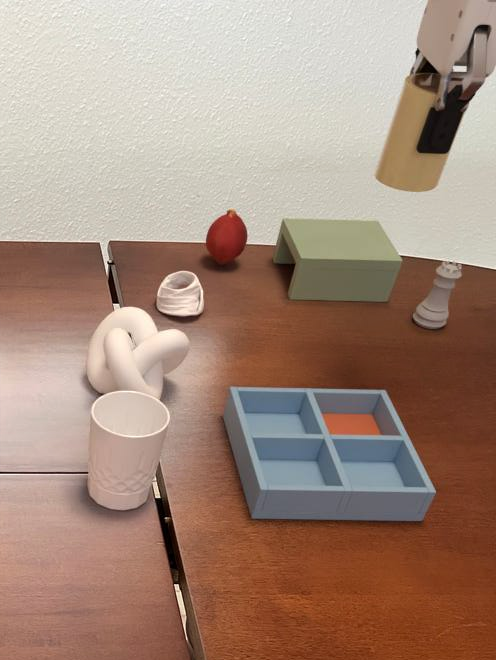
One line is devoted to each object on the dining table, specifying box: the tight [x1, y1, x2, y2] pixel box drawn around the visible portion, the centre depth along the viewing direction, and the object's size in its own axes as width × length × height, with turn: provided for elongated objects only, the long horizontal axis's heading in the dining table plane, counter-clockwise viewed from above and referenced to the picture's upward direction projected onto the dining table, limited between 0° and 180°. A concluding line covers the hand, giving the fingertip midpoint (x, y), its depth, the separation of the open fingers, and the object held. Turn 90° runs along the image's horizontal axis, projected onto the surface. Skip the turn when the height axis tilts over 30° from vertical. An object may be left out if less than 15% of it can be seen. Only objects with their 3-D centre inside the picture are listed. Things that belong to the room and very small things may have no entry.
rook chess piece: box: [412, 260, 463, 330], centre depth 119 cm, size 4×4×8 cm
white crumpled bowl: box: [156, 270, 205, 317], centre depth 120 cm, size 8×7×5 cm
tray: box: [222, 386, 437, 522], centre depth 99 cm, size 18×18×4 cm
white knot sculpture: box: [85, 306, 190, 401], centre depth 105 cm, size 11×12×9 cm
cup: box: [373, 73, 466, 193], centre depth 91 cm, size 7×7×9 cm
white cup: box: [86, 391, 171, 511], centre depth 92 cm, size 8×8×10 cm
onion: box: [205, 208, 248, 266], centre depth 128 cm, size 6×6×8 cm
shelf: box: [272, 217, 403, 303], centre depth 126 cm, size 14×12×6 cm
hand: (421, 136), depth 92 cm, fingers closed on cup, 6 cm apart
